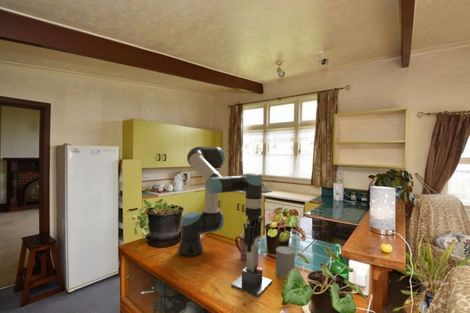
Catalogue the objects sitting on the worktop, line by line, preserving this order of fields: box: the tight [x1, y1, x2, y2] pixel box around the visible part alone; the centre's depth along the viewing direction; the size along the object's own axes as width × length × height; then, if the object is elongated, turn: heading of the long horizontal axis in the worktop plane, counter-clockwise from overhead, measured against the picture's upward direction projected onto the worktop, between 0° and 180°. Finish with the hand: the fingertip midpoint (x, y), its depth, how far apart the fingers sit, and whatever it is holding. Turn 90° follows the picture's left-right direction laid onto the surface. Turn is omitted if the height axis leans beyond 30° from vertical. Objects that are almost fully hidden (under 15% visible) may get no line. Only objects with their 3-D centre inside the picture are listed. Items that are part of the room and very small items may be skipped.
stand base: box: [230, 266, 273, 298], centre depth 109 cm, size 14×14×8 cm
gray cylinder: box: [274, 245, 296, 280], centre depth 119 cm, size 10×10×12 cm
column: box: [245, 234, 261, 273], centre depth 108 cm, size 5×5×16 cm
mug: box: [234, 232, 247, 262], centre depth 136 cm, size 13×9×14 cm
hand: (252, 256), depth 109 cm, fingers closed on column, 4 cm apart
